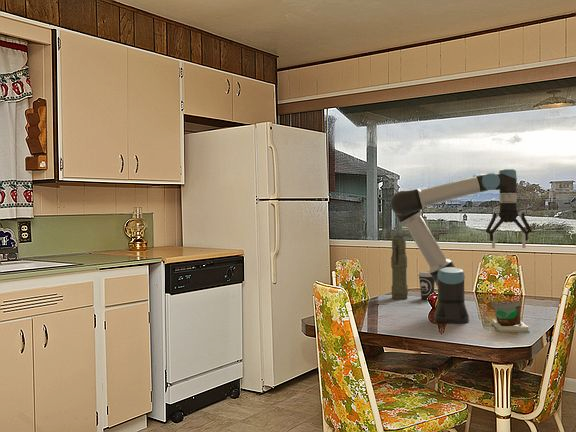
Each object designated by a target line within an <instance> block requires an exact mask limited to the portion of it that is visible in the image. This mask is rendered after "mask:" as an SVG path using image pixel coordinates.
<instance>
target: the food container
mask: <svg viewBox="0 0 576 432" xmlns="http://www.w3.org/2000/svg"><path fill="white" fill-rule="evenodd" d="M521 306H522V302H521V301H520V299H518V300H516V301H508V300H504V301H494V300H491V307H492V308H493V309H494V313H495V314H494V315H495V318H496V321H497V322H498V323H499V324H500V325H501V326H514V325H518V324H520V323H521V321H522V320H521Z"/></svg>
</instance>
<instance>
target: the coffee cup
mask: <svg viewBox="0 0 576 432" xmlns="http://www.w3.org/2000/svg"><path fill="white" fill-rule="evenodd" d="M418 279H419V289H420V296H421V297H420V299H421V300H423V301H428V300H427V298H428V296H429V295H430V294H432V293H434V294H435V285H436V283H435V281H434V279H433V277H432V276H431V274H430V270H425V271H423V270H422V271H419V273H418Z"/></svg>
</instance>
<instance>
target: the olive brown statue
mask: <svg viewBox="0 0 576 432" xmlns="http://www.w3.org/2000/svg"><path fill="white" fill-rule="evenodd" d="M406 241H407V240H406V238H405V236H403V235H394V236H393V237H392V240H391V250H392V252H391V257H390V260H391V261H390V264H391V272H392V273H391V276H392V277H391V279H392V284H391V299H393V300H397V301H400V300H401V301H403V300H408V299H409V298H408V294H409V292H408V291H409V289H408V285H407V284H408V282H407V268H408V256H407V252H406V250H407V243H406Z"/></svg>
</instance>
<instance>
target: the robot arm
mask: <svg viewBox="0 0 576 432" xmlns="http://www.w3.org/2000/svg"><path fill="white" fill-rule="evenodd" d="M517 180H518V178H517V171H516V169H514V168H506V169H503V168H502V169H499V171H498V173H495V172H486V173H482V174H481V173H479V174H473V175H472V177H468V178H464V179H459V180H456V181H452V182H448V183H444V184H439V185H437V186H433V187H428V188H426V189H420V188H415V189H411V190H400V191H397V192H395V193H394V194H393V195H392V197H391V198H390V202H389V203H390V208H391V210H392V211H393V213H394V214H395V216H396V218H397V219H398V221H399V223H400V224H403V225H405V227H406V229H407V231H408V232H409V233H410V235H411V237H412V239H413V240H414V243H415V244H416V245H417V247H418V249H419V251H420V252H421V254H422V256H423V257H424V259H425V261H426V263H427V264H428V266H429V268H430V269H429V271H430V274H431V276H432V277H433V279H434V281H435V285H436V286H437V298H438V299H437V305H436V309H435V311H434V315H433V317H434V321H436V322H438V323H442V324H465V323H469V321H470V317H469V313H468V309H467V307H466V304H465V301H466V300H465V278H466V277H465V276H466V275H465V272H464V270H463V269H462V268H458V267H456V266H455V264H454V263H453V261H452V260H451V259H449V258H446V255H445V254H444V252H443V250H442V249H441V247H440V246H439V244H438V242H437V240H436V239H435V237H434V236H433V234H432V232H431V231H430V228H429V227H428V225H427V224H426V222H425V220H424V218H423V217H422V210H424V208H425V207H428V206H432V205H435V204H440V203H443V202H446V201H451V200H452V201H453V200H455V199H460V198H463V197H466V196H470V195H475V194H478V193H483V192H487V191H499V202H500V203H499V213H496V212H493V213H492V216H491V220H490V221H489V223H488V224H487V225H488V226H487V227H486V229H485V233H487V234H489V241H491V248H492V249H496V234H494V233H495V232H496V231H497V230H498V228H499V227H501V225H502V224H504V223H514V224H515V225H516V226H517V227H518V228H519V229H520V230H521V232H522V234H521V241H522V242H521V244H522V246H521V247H522V249H526V247H527V246H526V242H528V239H529V238H528V237H529V236H528V235H529V234H530V233H532V232H533V230H532V228H531V226H530V225H529V222H528V221H527V219H526V217H525V212H518V203H517V202H518V200H517V199H518V195H517V193H518V192H517V191H518V190H517V185H518V183H517V182H518V181H517ZM498 217H499V218H500V219H498V221H497V223H496V224H495V225H494V223H495V221H496V219H497V218H498ZM518 217H519V218H520V219H521V221H522V223H523V225H524V226H525V227H524V226H523V225H522V224H521V223H520V222H519V220H518V219H517V218H518ZM493 225H494V226H493Z"/></svg>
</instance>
